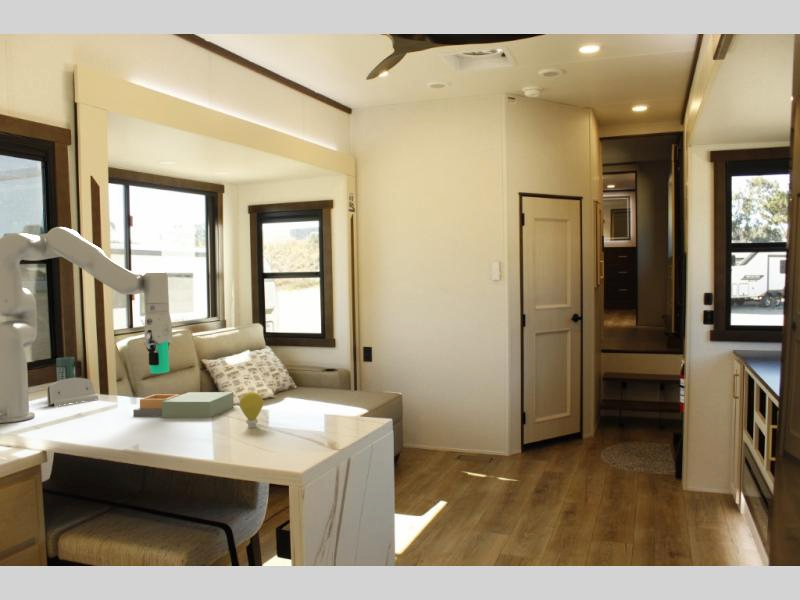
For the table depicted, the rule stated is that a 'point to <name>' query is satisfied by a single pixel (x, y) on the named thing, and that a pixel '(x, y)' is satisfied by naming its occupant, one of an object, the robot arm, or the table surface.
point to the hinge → (70, 391)
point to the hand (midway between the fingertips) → (158, 363)
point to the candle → (161, 359)
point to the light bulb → (251, 407)
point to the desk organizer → (185, 405)
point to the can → (65, 368)
